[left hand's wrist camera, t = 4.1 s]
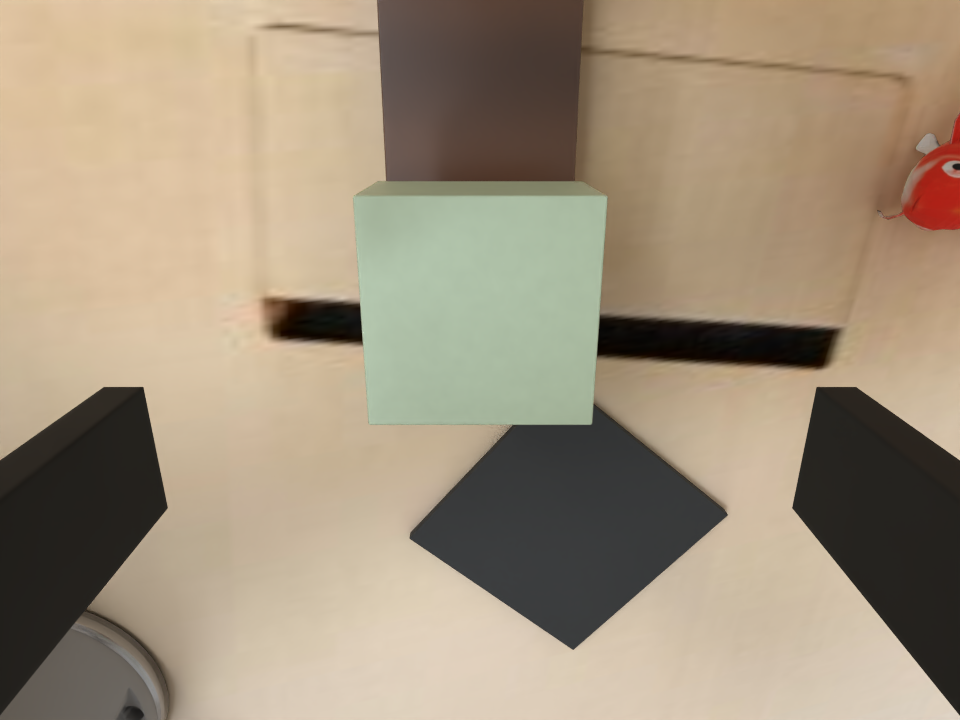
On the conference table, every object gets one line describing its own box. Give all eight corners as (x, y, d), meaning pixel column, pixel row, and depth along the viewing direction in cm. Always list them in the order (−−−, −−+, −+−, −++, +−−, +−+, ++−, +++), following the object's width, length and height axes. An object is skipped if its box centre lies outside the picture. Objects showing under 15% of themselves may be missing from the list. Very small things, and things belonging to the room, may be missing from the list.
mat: (572, 643, 44) (573, 650, 43) (410, 532, 40) (409, 538, 40) (724, 509, 40) (728, 515, 39) (559, 376, 37) (560, 380, 36)
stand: (559, 350, 36) (585, 425, 27) (400, 350, 36) (375, 425, 27) (589, -291, 26) (646, -501, 17) (371, -291, 26) (314, -502, 17)
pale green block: (573, 373, 27) (592, 425, 23) (387, 373, 27) (368, 425, 23) (583, 181, 25) (608, 195, 20) (376, 181, 25) (352, 195, 20)
